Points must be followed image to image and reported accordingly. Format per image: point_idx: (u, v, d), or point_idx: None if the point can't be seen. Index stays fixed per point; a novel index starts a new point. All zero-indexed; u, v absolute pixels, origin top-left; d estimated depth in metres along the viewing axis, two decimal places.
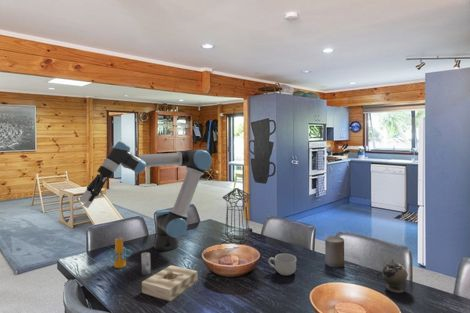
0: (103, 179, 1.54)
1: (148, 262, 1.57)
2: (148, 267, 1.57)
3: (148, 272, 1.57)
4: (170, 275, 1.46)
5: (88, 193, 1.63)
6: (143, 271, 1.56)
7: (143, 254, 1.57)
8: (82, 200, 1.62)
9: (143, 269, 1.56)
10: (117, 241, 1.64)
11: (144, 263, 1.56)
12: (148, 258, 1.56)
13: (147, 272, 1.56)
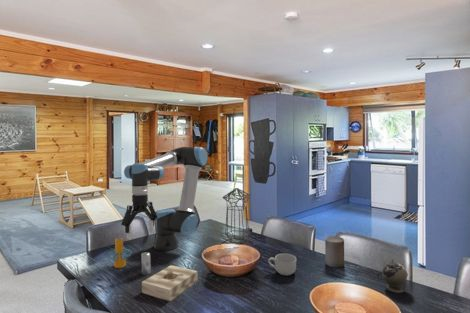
0: None
1: (148, 262, 1.57)
2: (148, 267, 1.57)
3: (148, 272, 1.57)
4: (170, 275, 1.46)
5: None
6: (143, 271, 1.56)
7: (143, 254, 1.57)
8: None
9: (143, 269, 1.56)
10: (117, 241, 1.64)
11: (144, 263, 1.56)
12: (148, 258, 1.56)
13: (147, 272, 1.56)
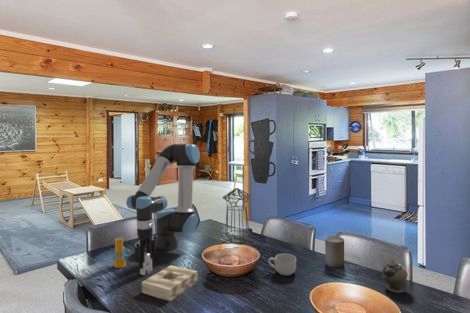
0: None
1: (148, 262, 1.57)
2: (148, 267, 1.57)
3: (148, 272, 1.57)
4: (170, 275, 1.46)
5: None
6: None
7: None
8: None
9: None
10: (117, 241, 1.64)
11: None
12: (148, 258, 1.56)
13: (147, 272, 1.56)
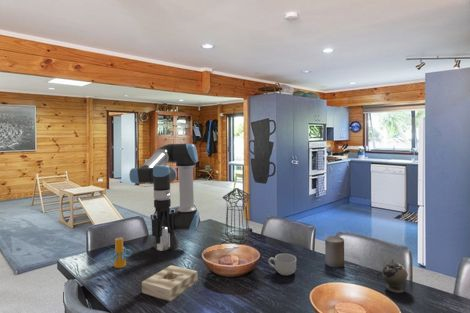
0: None
1: (166, 236, 1.43)
2: (165, 242, 1.43)
3: (165, 248, 1.43)
4: (170, 275, 1.46)
5: None
6: None
7: None
8: None
9: None
10: (117, 241, 1.64)
11: None
12: (166, 232, 1.43)
13: (164, 247, 1.43)
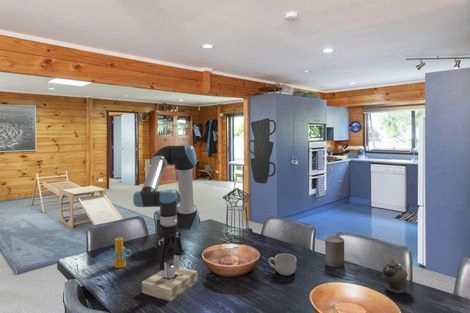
0: None
1: (173, 275, 1.41)
2: None
3: None
4: None
5: None
6: None
7: (166, 266, 1.42)
8: None
9: None
10: (117, 241, 1.64)
11: (168, 277, 1.40)
12: (173, 271, 1.41)
13: None
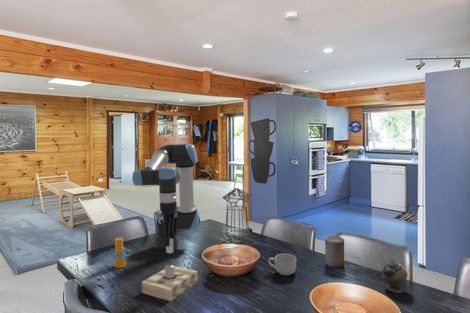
0: None
1: (173, 275, 1.41)
2: None
3: None
4: None
5: None
6: None
7: (167, 266, 1.42)
8: None
9: None
10: (117, 241, 1.64)
11: (168, 277, 1.40)
12: (173, 271, 1.41)
13: None
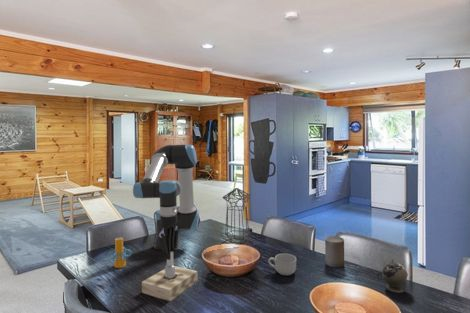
0: None
1: (173, 275, 1.41)
2: None
3: None
4: None
5: None
6: None
7: (167, 266, 1.42)
8: None
9: None
10: (117, 241, 1.64)
11: (168, 277, 1.40)
12: (173, 271, 1.41)
13: None
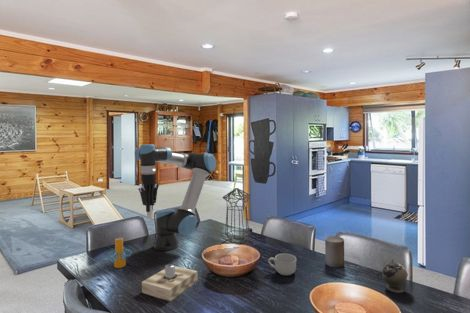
0: None
1: (173, 275, 1.41)
2: None
3: None
4: None
5: None
6: None
7: (167, 266, 1.42)
8: None
9: None
10: (117, 241, 1.64)
11: (168, 277, 1.40)
12: (173, 271, 1.41)
13: None
